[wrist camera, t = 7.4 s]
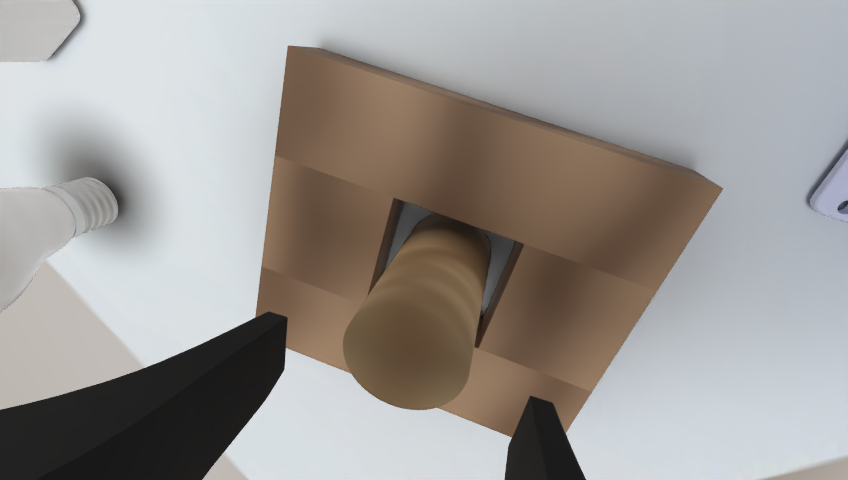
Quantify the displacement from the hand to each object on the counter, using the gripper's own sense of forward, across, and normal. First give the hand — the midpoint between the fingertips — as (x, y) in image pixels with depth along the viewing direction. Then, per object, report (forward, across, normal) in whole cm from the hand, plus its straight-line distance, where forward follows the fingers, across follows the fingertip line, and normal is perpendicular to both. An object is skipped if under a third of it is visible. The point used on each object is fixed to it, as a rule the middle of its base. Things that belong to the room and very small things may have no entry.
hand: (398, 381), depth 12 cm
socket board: (+9, 0, 0) cm, 9 cm away
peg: (+9, 0, 0) cm, 9 cm away
